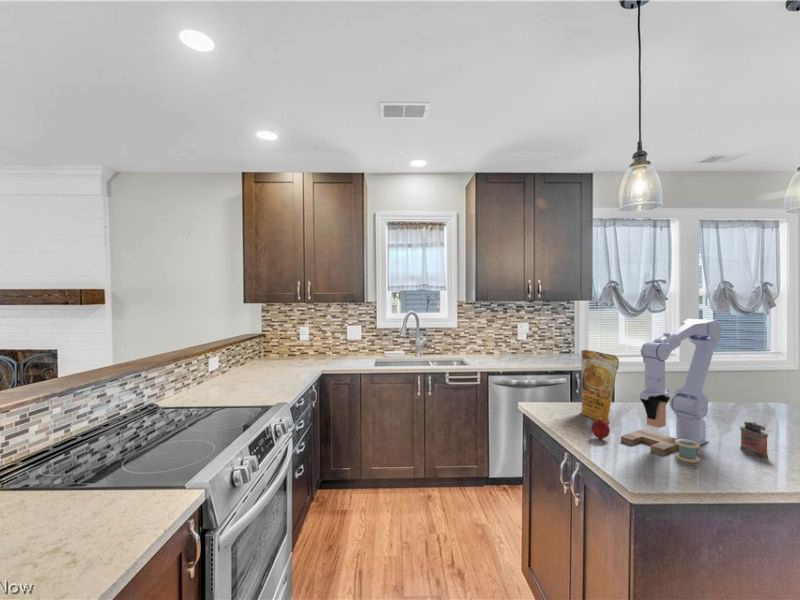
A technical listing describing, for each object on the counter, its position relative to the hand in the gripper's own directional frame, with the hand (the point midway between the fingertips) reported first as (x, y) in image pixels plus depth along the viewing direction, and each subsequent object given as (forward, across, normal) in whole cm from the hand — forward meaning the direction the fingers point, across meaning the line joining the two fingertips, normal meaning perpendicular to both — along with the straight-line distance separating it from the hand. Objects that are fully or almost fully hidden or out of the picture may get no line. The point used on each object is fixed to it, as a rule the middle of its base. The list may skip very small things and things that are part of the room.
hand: (654, 417), depth 131 cm
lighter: (+11, +23, -19) cm, 31 cm away
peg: (+2, 0, 0) cm, 3 cm away
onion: (+11, -8, +14) cm, 20 cm away
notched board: (+10, +3, +2) cm, 11 cm away
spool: (+10, 0, -10) cm, 14 cm away
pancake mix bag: (+11, +14, +30) cm, 35 cm away
